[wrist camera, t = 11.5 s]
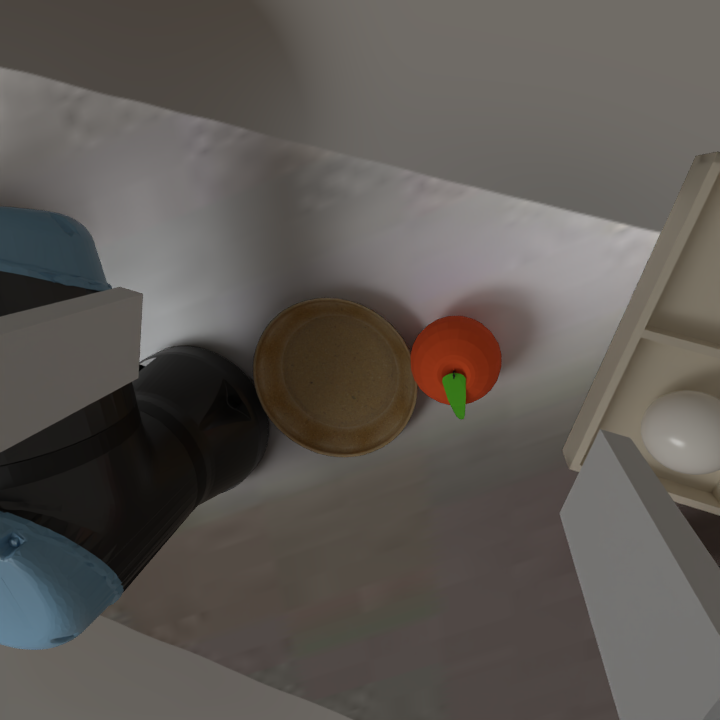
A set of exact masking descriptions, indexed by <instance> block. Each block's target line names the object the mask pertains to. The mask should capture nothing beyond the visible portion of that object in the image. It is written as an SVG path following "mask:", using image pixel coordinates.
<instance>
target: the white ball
mask: <svg viewBox="0 0 720 720" xmlns="http://www.w3.org/2000/svg"><path fill="white" fill-rule="evenodd" d="M641 436H642V441H643V443H644V445H645V447H646V449H647V450H648V452H649V453H650V454H651V456H652V457H653V458H654V459H655V460H657V461H658V462H659V463H660V464H662V465H663V466H665V467H667V468H669V469H671V470H673V471H676V472H680V473H684V474H690V475H701V474H709V473H713V472H716V471H718V470H720V399H718V398H716V397H714V396H712V395H710V394H707V393H704V392H699V391H691V390H683V391H676V392H671V393H668V394H665V395H663V396H661V397H660V398H658V399H656V400H655V401H654V402H653V403H652V404H651V405H650V406H649V407H648V408H647V410H646V411H645V413H644V415H643V417H642V421H641Z"/></svg>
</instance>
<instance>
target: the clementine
mask: <svg viewBox="0 0 720 720" xmlns="http://www.w3.org/2000/svg"><path fill="white" fill-rule="evenodd" d="M410 357H411V371H412V374H413V377H414V380H415V382H416V383H417V385H418V386H419V388H420V389H421V390H422V391H423V392H424V393H425V394H427V395H428V396H429V397H430V398H432V399H434V400H436V401H438V402H440V403H444V404H448V405H451V407H452V409H453V411H454V413H455V414H456V416H457V417H458V418H459V419H464V416H465V404H467V403H472V402H474V401H476V400H478V399H480V398H482V397H483V396H484V395H486V394H487V393H488V392H489V391H490V390H491V389H492V387H493V386H494V384H495V383H496V381H497V379H498V376H499V373H500V369H501V351H500V348H499V344H498V342H497V341H496V339H495V337H494V336H493V334H492V333H491V332H490V331H489V330H488V329H487V328H486V327H485V326H484V325H483V324H482V323H480V322H478V321H476V320H474V319H472V318H468V317H463V316H448V317H444V318H441V319H438V320H436V321H434V322H432V323H431V324H429V325H428V326H427V327H426V328H425V329H424V330H423V331H422V332H421V333H420V334H419V335H418V336H417V338H416V340H415V342H414V344H413V347H412V351H411V355H410Z"/></svg>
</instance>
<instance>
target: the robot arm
mask: <svg viewBox="0 0 720 720" xmlns="http://www.w3.org/2000/svg"><path fill="white" fill-rule="evenodd" d="M142 301H143V294H142V293H139V292H135V291H132V290H128V289H125V288H122V287H117V288H113V289H112V287H111V285H109V284H108V283H107V281H106V278H105V275H104V272H103V269H102V265H101V262H100V259H99V256H98V253H97V250H96V247H95V243H94V241H93V238H92V236H91V234H90V233H89V231H88V230H87V229H86V228H85V227H84V226H83V225H82V224H81V223H79V222H78V221H76V220H75V219H73V218H71V217H69V216H66V215H63V214H60V213H55V212H50V211H43V210H34V209H25V208H15V207H4V206H0V644H2V645H5V646H9V647H14V648H19V649H31V650H39V649H48V648H53V647H57V646H59V645H62V644H64V643H67V642H69V641H71V640H73V639H74V638H75V637H77V636H78V635H79V634H81V633H82V632H83V631H84V630H85V629H86V628H87V627H88V626H89V625H90V624H91V623H92V622H93V621H94V620H95V619H96V618H97V617H98V616H99V615H100V614H101V613H102V612H103V611H104V610H105V609H106V608H107V607H108V606H109V605H112V604H113V603H115V602H116V601H117V600H118V599H119V598H120V597H121V595H122V593H123V592H124V591H125V590H126V589H127V587H128V586H129V585H130V584H131V583H132V581H133V580H134V579H135V578H136V577H137V576H138V574H139V573H140V572H141V571H142V570H143V569H144V567H145V566H146V565H147V564H148V563H149V562H150V560H151V559H152V558H153V557H154V556H155V555H156V553H157V552H158V551H159V550H160V549H161V547H162V546H163V545H164V544H165V543H166V542H167V540H168V539H169V538H170V537H171V536H172V535H173V533H174V532H175V531H176V530H177V529H178V528H179V526H180V525H181V524H182V523H183V522H184V520H185V519H186V518H187V517H188V516H189V515H190V514H191V512H192V511H193V510H194V509H195V508H196V507H197V506H198V505H200V504H202V503H203V502H205V501H207V500H209V499H211V498H213V497H215V496H217V495H218V494H221V493H223V492H226V491H228V490H230V489H232V488H234V487H236V486H237V485H238V484H240V483H241V482H242V481H243V480H245V479H246V478H247V476H248V475H249V474H250V473H251V472H252V470H253V469H254V468H255V467H256V465H257V464H258V463H259V461H260V460H261V458H262V456H263V455H264V452H265V449H266V446H267V442H268V433H269V428H268V418H267V414H266V412H265V411H264V409H263V407H262V405H261V403H260V401H259V398H258V395H257V392H256V388H255V387H254V385H253V384H252V382H251V381H250V380H249V379H248V377H247V376H246V375H245V374H244V373H243V372H242V371H241V370H240V369H239V368H238V367H236V366H235V365H234V364H233V363H231V362H230V361H228V360H227V359H225V358H224V357H222V356H220V355H218V354H216V353H214V352H211V351H208V350H206V349H202V348H197V347H190V346H178V347H172V348H168V349H165V350H162V351H160V352H158V353H156V354H154V355H152V356H150V357H148V358H146V359H144V360H142V361H141V362H139V357H140V338H141V320H142ZM560 517H561V520H562V524H563V527H564V530H565V534H566V537H567V541H568V544H569V548H570V551H571V554H572V558H573V561H574V565H575V568H576V571H577V575H578V578H579V582H580V585H581V589H582V592H583V595H584V599H585V602H586V606H587V609H588V612H589V616H590V619H591V623H592V626H593V630H594V633H595V636H596V640H597V643H598V647H599V650H600V654H601V657H602V660H603V664H604V667H605V671H606V674H607V677H608V681H609V684H610V688H611V691H612V695H613V698H614V701H615V705H616V708H617V712H618V715H619V719H620V720H720V566H718V565H717V564H716V562H715V561H714V559H713V558H712V556H711V555H710V553H709V552H708V550H707V549H706V548H705V546H704V545H703V543H702V542H701V540H700V539H699V537H698V536H697V534H696V533H695V531H694V530H693V529H692V527H691V526H690V524H689V523H688V521H687V520H686V518H685V517H684V515H683V514H682V512H681V511H680V510H679V508H678V507H677V505H676V504H675V502H674V501H673V499H672V498H671V496H670V495H669V493H668V492H667V491H666V489H665V488H664V486H663V485H662V483H661V482H660V480H659V479H658V477H657V476H656V474H655V473H654V472H653V470H652V469H651V467H650V466H649V464H648V463H647V461H646V460H645V458H644V457H643V455H642V454H641V453H640V451H639V450H638V448H637V447H636V445H635V444H634V442H633V441H632V439H631V438H629V437H626V436H622V435H619V434H615V433H612V432H609V431H605V430H602V429H600V430H599V432H598V434H597V436H596V438H595V440H594V443H593V445H592V447H591V449H590V451H589V453H588V455H587V457H586V459H585V461H584V463H583V465H582V468H581V470H580V472H579V474H578V476H577V478H576V480H575V482H574V484H573V486H572V488H571V490H570V493H569V495H568V497H567V499H566V501H565V503H564V505H563V507H562V509H561V511H560Z"/></svg>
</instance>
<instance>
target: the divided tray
mask: <svg viewBox="0 0 720 720" xmlns="http://www.w3.org/2000/svg"><path fill="white" fill-rule="evenodd" d="M683 390H691V391H699V392H704V393H707V394H710V395H712V396H714V397H716V398H718V399H720V152H713V153H709V154H703V155H698V156H696V157H695V159H694V161H693V163H692V166H691V168H690V170H689V172H688V174H687V177H686V179H685V181H684V183H683V185H682V188H681V190H680V192H679V194H678V196H677V199H676V201H675V203H674V205H673V207H672V210H671V212H670V214H669V216H668V218H667V221H666V223H665V225H664V227H663V229H662V232H661V234H660V236H659V238H658V240H657V243H656V245H655V247H654V249H653V251H652V254H651V256H650V258H649V260H648V262H647V265H646V267H645V269H644V271H643V273H642V276H641V278H640V280H639V282H638V284H637V287H636V289H635V291H634V293H633V295H632V298H631V300H630V302H629V304H628V306H627V309H626V311H625V313H624V315H623V317H622V320H621V322H620V324H619V326H618V329H617V331H616V333H615V335H614V337H613V340H612V342H611V344H610V346H609V348H608V351H607V353H606V355H605V357H604V359H603V362H602V364H601V366H600V368H599V370H598V373H597V375H596V377H595V379H594V381H593V384H592V386H591V388H590V390H589V392H588V395H587V397H586V399H585V401H584V403H583V406H582V408H581V410H580V412H579V414H578V417H577V419H576V421H575V423H574V425H573V428H572V430H571V432H570V434H569V436H568V439H567V441H566V443H565V445H564V447H563V450H562V451H563V454H564V457H565V459H566V462H567V465H568V467H569V469H571V470H574V471H577V472H580V470H581V468H582V465H583V463H584V461H585V459H586V457H587V455H588V453H589V451H590V449H591V447H592V445H593V443H594V440H595V438H596V436H597V434H598V432H599V430H600V429H602V430H605V431H609V432H612V433H615V434H619V435H622V436H626V437H629V438H631V439H632V441H633V442H634V444H635V445H636V447H637V448H638V450H639V451H640V453H641V454H642V455H643V457H644V458H645V460H646V461H647V463H648V464H649V466H650V467H651V469H652V470H653V472H654V473H655V474H656V476H657V477H658V479H659V480H660V482H661V483H662V485H663V486H664V488H665V489H666V491H667V492H668V493H669V495H670V496H671V498H672V499H673V501H674V502H677V503H680V504H684V505H687V506H690V507H693V508H697V509H700V510H703V511H706V512H710V513H713V514H716V515H719V516H720V470H718V471H716V472H713V473H709V474H701V475H690V474H684V473H680V472H676V471H673V470H671V469H669V468H667V467H665V466H663V465H662V464H660V463H659V462H658V461H657V460H655V459H654V458H653V457H652V456H651V454H650V453H649V452H648V450H647V449H646V447H645V445H644V443H643V441H642V436H641V421H642V417H643V415H644V413H645V411H646V410H647V408H648V407H649V406H650V405H651V404H652V403H653V402H654V401H655V400H656V399H658V398H660V397H661V396H663V395H665V394H668V393H671V392H676V391H683Z"/></svg>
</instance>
